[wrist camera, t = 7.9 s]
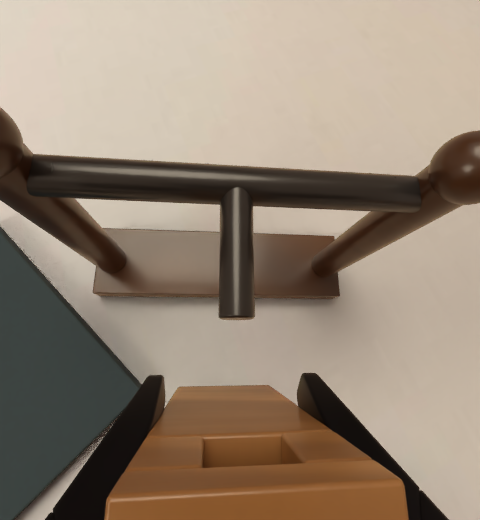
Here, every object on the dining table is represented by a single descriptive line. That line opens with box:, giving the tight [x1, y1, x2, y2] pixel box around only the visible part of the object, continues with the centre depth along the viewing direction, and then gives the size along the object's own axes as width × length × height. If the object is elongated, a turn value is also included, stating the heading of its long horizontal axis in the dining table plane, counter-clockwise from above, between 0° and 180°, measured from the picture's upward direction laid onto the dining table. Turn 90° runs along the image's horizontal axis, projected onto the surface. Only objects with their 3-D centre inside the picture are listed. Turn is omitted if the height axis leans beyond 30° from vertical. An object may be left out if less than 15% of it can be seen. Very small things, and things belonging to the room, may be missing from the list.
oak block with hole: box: [104, 385, 409, 520], centre depth 8 cm, size 1×4×9 cm, turn 90°
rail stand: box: [0, 108, 480, 320], centre depth 13 cm, size 6×15×13 cm, turn 90°
